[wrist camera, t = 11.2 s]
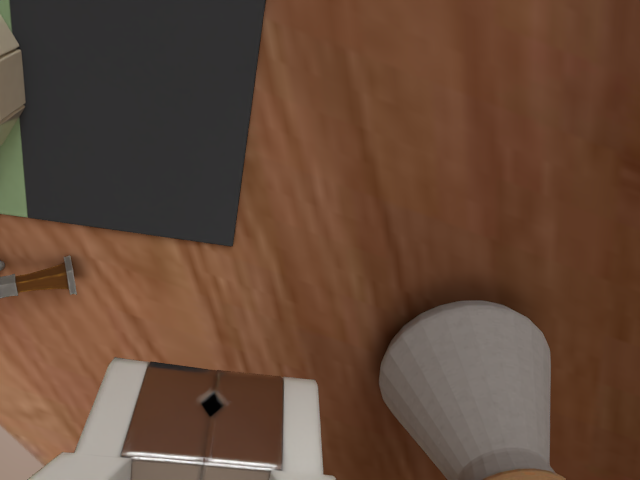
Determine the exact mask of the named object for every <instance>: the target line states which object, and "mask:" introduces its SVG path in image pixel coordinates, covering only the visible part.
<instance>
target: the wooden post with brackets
mask: <svg viewBox="0 0 640 480" xmlns="http://www.w3.org/2000/svg"><path fill="white" fill-rule="evenodd" d="M64 262H65V263H62V264H60V265H57V266H55V267H52V268H48V269H44V270H41V271H37V272H34V273H30V274H26V275H20V276H15V274H12V275H9V276H3V277H0V298H4V297H9V296H18V293H19V292H26V291H33V290H46V289H69V291H70V295H71V294H76V295H77V292H76V286H75V279H74V273H73V267H72V262H71V257H70V255H69V256H67V257H64ZM4 267H5V264H4V262H3V261H0V270H2V269H4Z"/></svg>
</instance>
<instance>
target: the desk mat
mask: <svg viewBox="0 0 640 480" xmlns="http://www.w3.org/2000/svg"><path fill="white" fill-rule="evenodd" d="M265 1H266V0H0V14H1V16H2V17H3V19H4V21H5V22H6V24H7V26H8V27H9V29H10V30H11V32H12V34H13V35H14V37H15V39H16V40H17V42H18V43H19V47H18V48H16V49H20V50H21V52H22V65H23V77H24V89H25V101H26V103H25V104H24V106H25V108H24V110H23V111H22V113H21V115H20V116H19V118H18V120H17V121H16V123H15V125H14V126H13V128H12V130H11V131H10V133H9V135H8V136H7V138H6V140H5V141H4V143H3V144H2V145H1V146H0V214H5V215H13V216H20V217H28V218H34V219H41V220H48V221H55V222H62V223H69V224H76V225H83V226H90V227H97V228H105V229H112V230H119V231H126V232H133V233H140V234H147V235H154V236H161V237H168V238H175V239H182V240H189V241H197V242H204V243H211V244H218V245H225V246H233V240H234V233H235V225H236V218H237V211H238V203H239V196H240V188H241V181H242V173H243V166H244V158H245V151H246V143H247V136H248V128H249V121H250V113H251V106H252V98H253V91H254V83H255V76H256V68H257V61H258V53H259V46H260V38H261V31H262V24H263V16H264V9H265Z"/></svg>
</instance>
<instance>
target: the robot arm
mask: <svg viewBox="0 0 640 480" xmlns="http://www.w3.org/2000/svg"><path fill="white" fill-rule="evenodd" d="M27 480H336V478H335V477H334V476H331V475H323V461H322V445H321V429H320V412H319V396H318V385H317V383H316V381H315V380H309V379H300V378H290V377H283V378H282V377H280V376H270V375H260V374H251V373H241V372H231V371H221V370H217V371H216V370H208V369H201V368H194V367H186V366H179V365H172V364H164V363H157V362H144V361H137V360H130V359H123V358H116V357H115V358H114V359H113V360H112V362H111V363H110V364H109V365H108V368H107V371H106V373H105V376H104V378H103V381H102V383H101V386H100V388H99V391H98V393H97V396H96V399H95V401H94V404H93V406H92V409H91V411H90V414H89V416H88V419H87V421H86V424H85V426H84V429H83V432H82V434H81V437H80V439H79V442H78V444H77V447H76V449H75V452H74V453H67V452H62V453H61V454H59V455H58V456H57V457H56V458H54V459H53V460H52V461H50V462H49V463H48V464H47V465H45V466H44V467H43V468H41V469H40V470H39V471H38V472H36V473H35V474H34V475H32V476H31V477H30V478H29V479H27Z"/></svg>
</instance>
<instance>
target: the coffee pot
mask: <svg viewBox="0 0 640 480" xmlns="http://www.w3.org/2000/svg"><path fill="white" fill-rule="evenodd" d="M550 379H551V362H550V349H549V346H548V344H547V342H546V339H545V337H544V335H543V333H542V332H541V331H540V330H539V329H538V328H537V327H536V326H535V325H534V324H533V322H532V321H531V320H530V319H529V318H527V317H525V316H523V315H521V314H520V313H518V312H516V311H514V310H512V309H510V308H508V307H506V306H504V305H501V304H497V303H492V302H488V301H483V300H478V301H458V302H453V303H448V304H444V305H440V306H437V307H435V308H433V309H430V310H428V311H426V312H424V313H421V314H420V315H418V316H417V317H415V318H414V319H413V320H411V321H410V322H408V323H407V324H406V325H404V326H403V327H402V328H401V330H400V331H399V332H398V333H397V334H396V335H395V337H394V338H393V339H392V340H391V342H390V344H389V346H388V348H387V351H386V353H385V355H384V357H383V360H382V362H381V366H380V375H379V386H380V390H381V394H382V398H383V400H384V402H385V403H386V405H387V406H388V408H389V409H390V410H391V412H392V413H393V415H394V416H395V417H396V418H397V419H398V421H399V422H400V423H401V424H402V425H403V427H404V428H405V429H406V430H407V431H408V433H409V434H410V435H411V436H412V437H413V439H414V440H415V441H416V442H417V443H418V445H419V446H420V447H421V448H422V449H423V450H424V452H425V453H426V454H427V455H428V456H429V458H430V459H431V460H432V461H433V462H434V464H435V465H436V466H437V467H438V468H439V470H440V471H441V472H442V473H443V474H444V476H445V477H446V478H447V479H448V480H566V479H565V478H564V477H563V476H561V475H558V474H556V473H555V472H554V471H553V469H552V468H551V467H550V466H549V453H550Z"/></svg>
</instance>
